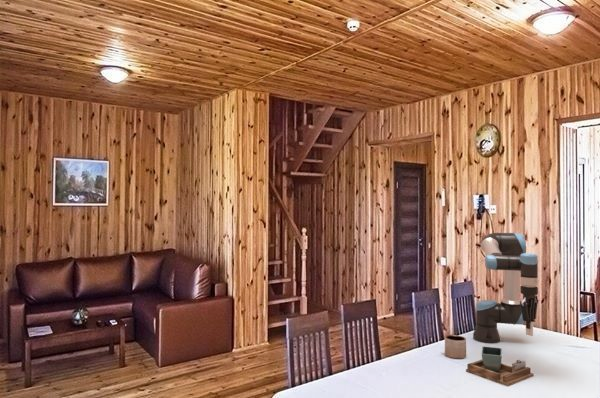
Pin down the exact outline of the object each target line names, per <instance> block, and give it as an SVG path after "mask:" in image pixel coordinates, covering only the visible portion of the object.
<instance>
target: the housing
mask: <svg viewBox="0 0 600 398" xmlns="http://www.w3.org/2000/svg"><path fill="white" fill-rule="evenodd" d="M466 366H467V368H466V369H465V372H466V373H467V374H471V375H474V376H477V377H480V378H483V379H484V380H488V381H491V382H494V383H497V384H500V385H503V386H506V387H509V386H512V385H515V384H517V383H520V382H523V381H525V380H527V379H530V378H532V377H534V376H535V375H534V373H533V372H531V367H528V366H527V367H526V368H523V369H521V370H518V371H515V372H512V365H508V364H506V363H505V364H504V363H502V362H501V367H500V369H499V371H490V370H487V369H485V367H484V365H483V361H482V359H480V360H477V361H473V362H470V363H467V365H466Z"/></svg>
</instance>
